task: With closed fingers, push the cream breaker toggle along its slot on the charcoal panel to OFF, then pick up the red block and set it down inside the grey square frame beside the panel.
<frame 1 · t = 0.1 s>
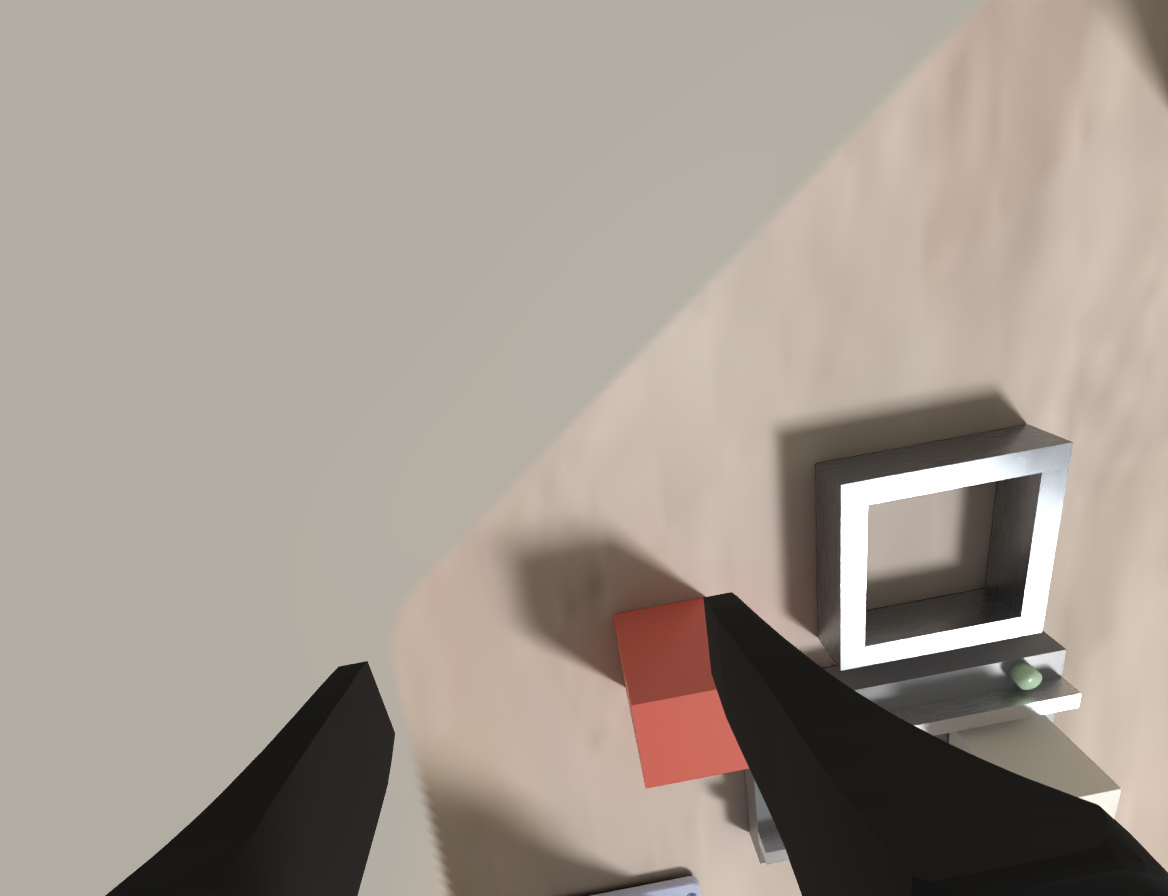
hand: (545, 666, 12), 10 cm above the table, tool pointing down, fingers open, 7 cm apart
red block: (664, 642, 25), on the table
breaker toggle: (1023, 788, 25), point 4 cm above the table, slide at 0.0 cm
breaker panel: (885, 736, 28), on the table
grey square frame: (916, 537, 24), on the table
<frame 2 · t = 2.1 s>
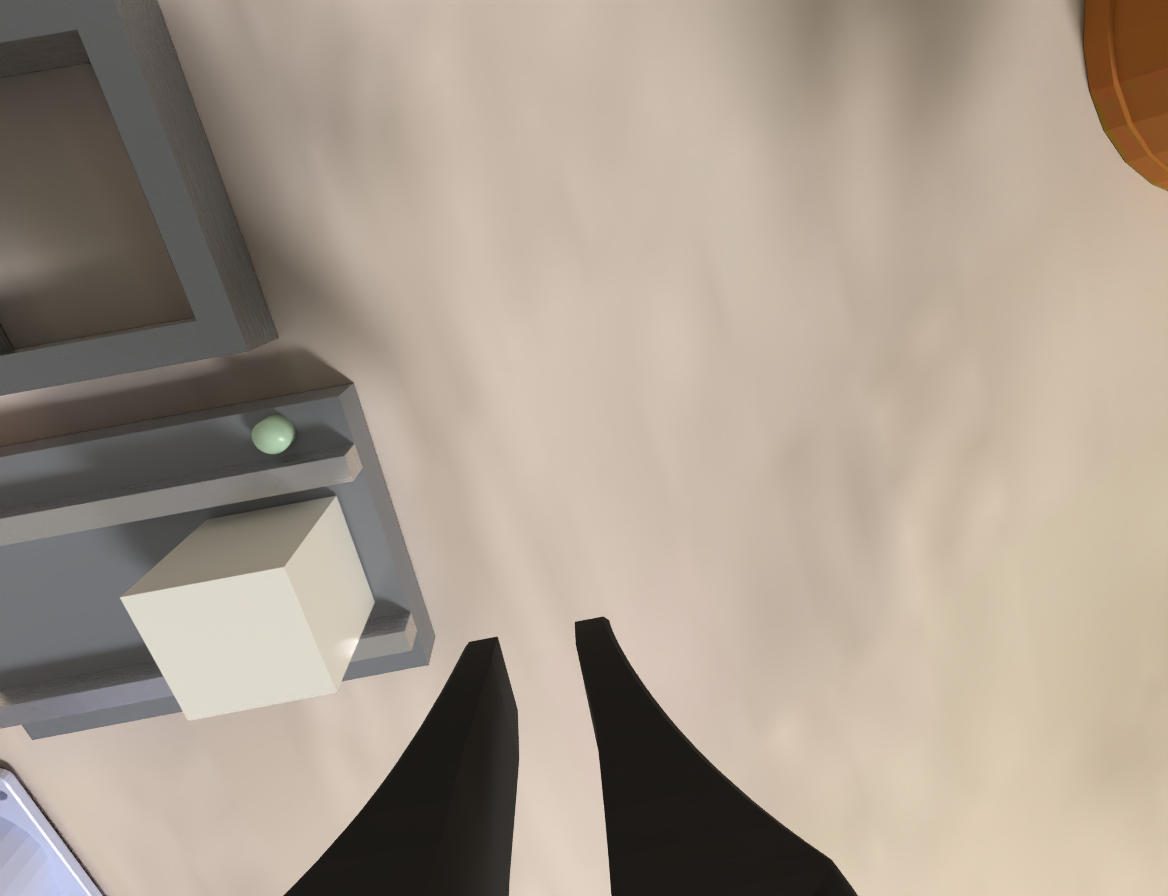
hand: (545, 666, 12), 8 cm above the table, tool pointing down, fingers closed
breaker toggle: (267, 600, 17), point 4 cm above the table, slide at 0.0 cm
breaker panel: (196, 558, 20), on the table
grey square frame: (69, 212, 16), on the table
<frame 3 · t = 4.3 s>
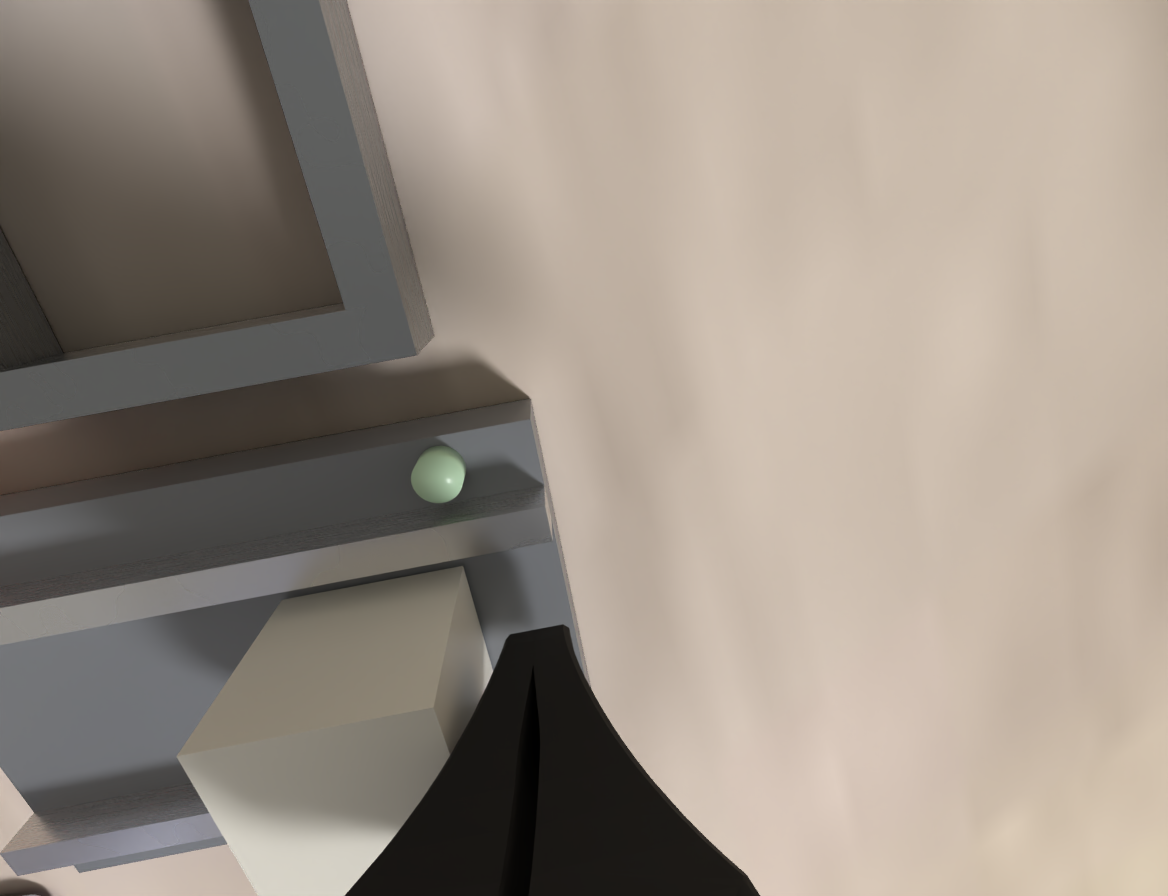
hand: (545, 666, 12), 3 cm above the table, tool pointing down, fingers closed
breaker toggle: (376, 723, 11), point 4 cm above the table, slide at 1.1 cm, touching gripper
breaker panel: (300, 632, 15), on the table
grey square frame: (151, 152, 11), on the table
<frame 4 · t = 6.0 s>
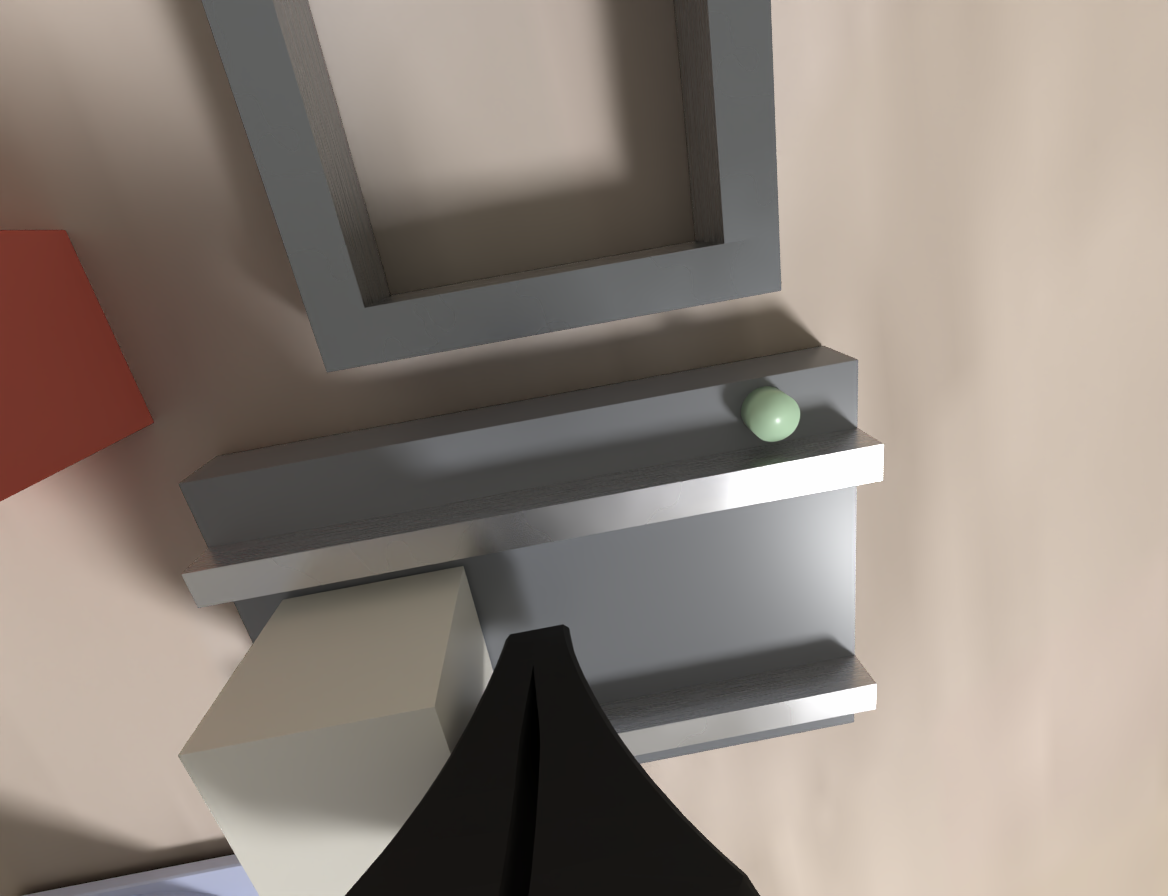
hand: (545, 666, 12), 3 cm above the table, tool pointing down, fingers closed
red block: (16, 348, 12), on the table
breaker toggle: (377, 723, 12), point 4 cm above the table, slide at 7.9 cm, touching gripper
breaker panel: (561, 583, 15), on the table
grey square frame: (511, 91, 11), on the table
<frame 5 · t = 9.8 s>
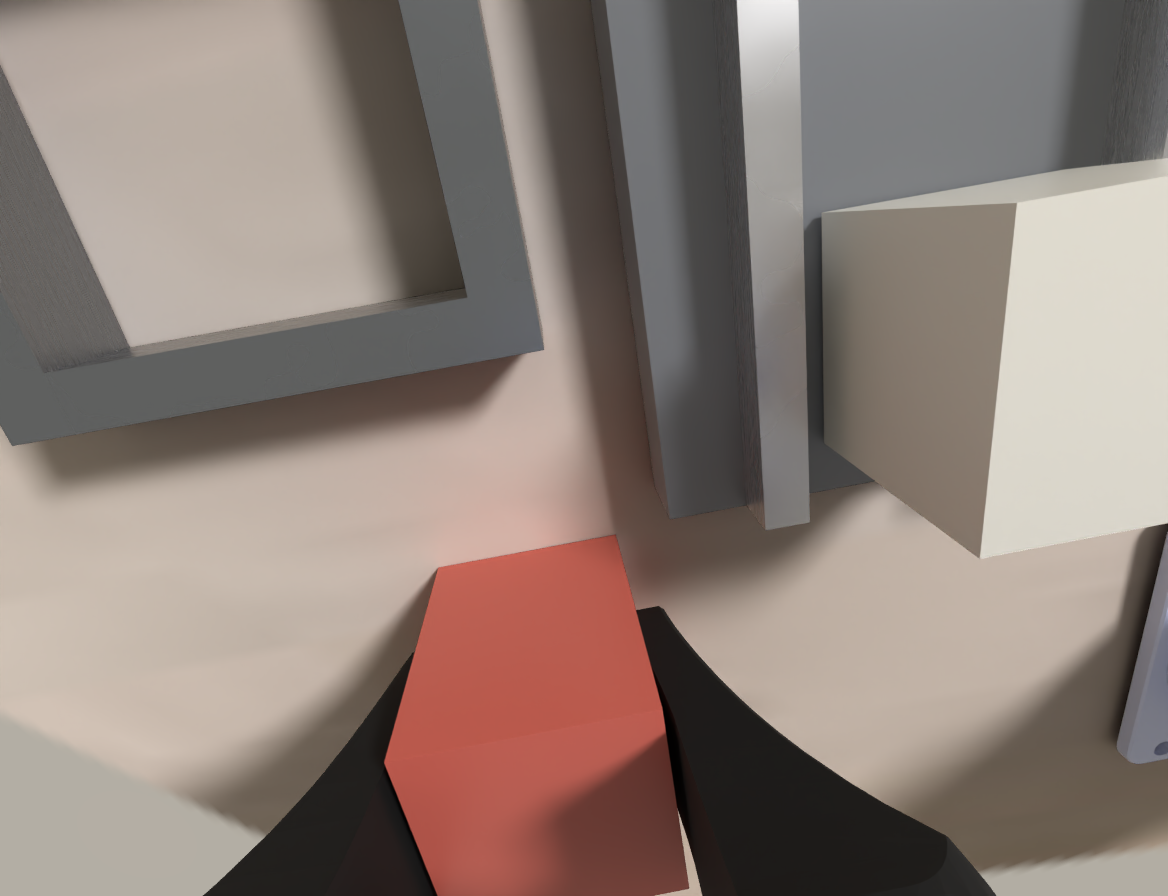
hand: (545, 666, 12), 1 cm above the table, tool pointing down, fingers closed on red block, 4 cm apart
red block: (544, 623, 14), on the table, touching gripper
breaker toggle: (1028, 336, 8), point 4 cm above the table, slide at 8.0 cm
breaker panel: (889, 74, 10), on the table
grey square frame: (238, 118, 9), on the table
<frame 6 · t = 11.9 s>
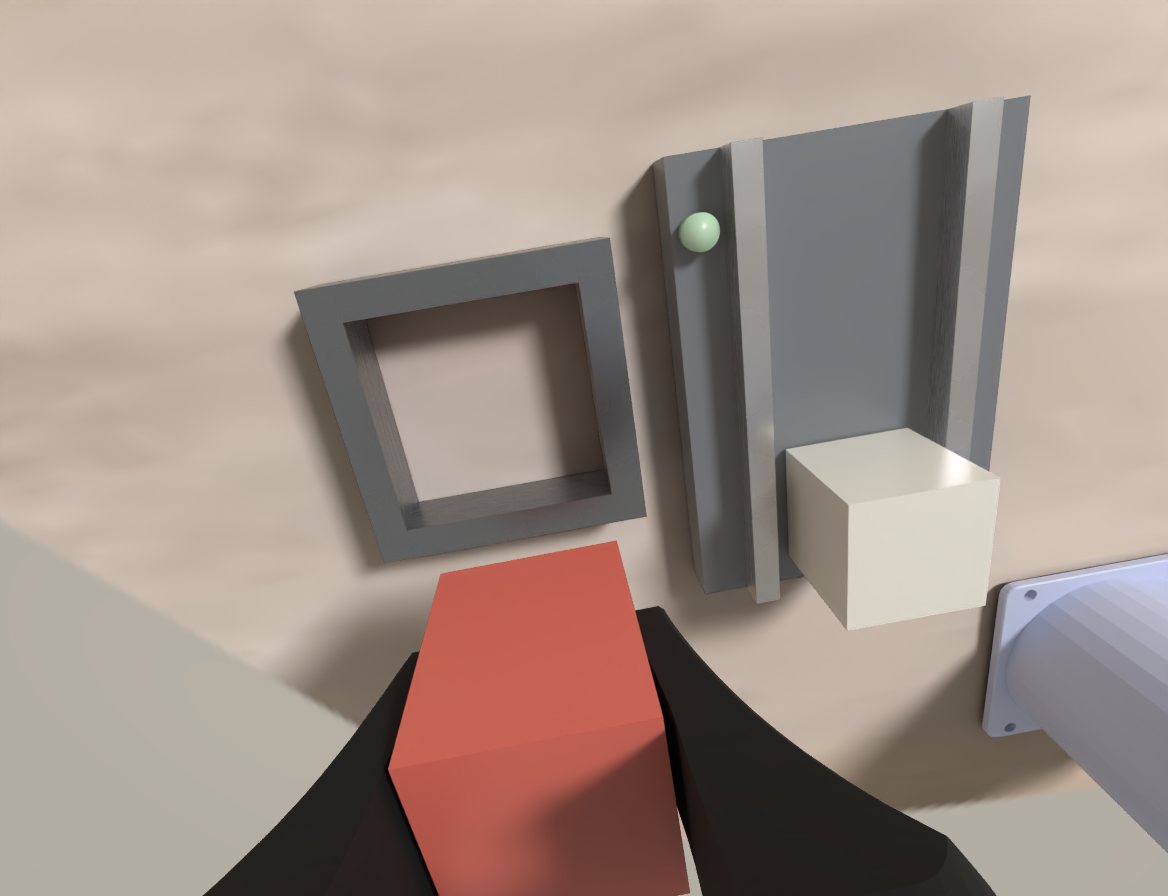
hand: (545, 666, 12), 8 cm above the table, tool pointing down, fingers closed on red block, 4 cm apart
red block: (545, 628, 14), point 7 cm above the table, touching gripper
breaker toggle: (879, 522, 17), point 4 cm above the table, slide at 8.0 cm
breaker panel: (823, 368, 19), on the table
grey square frame: (491, 396, 19), on the table
when the fingers open (3 cm above the table, at t = 14.0 s): red block drops 2 cm, resting in grey square frame.
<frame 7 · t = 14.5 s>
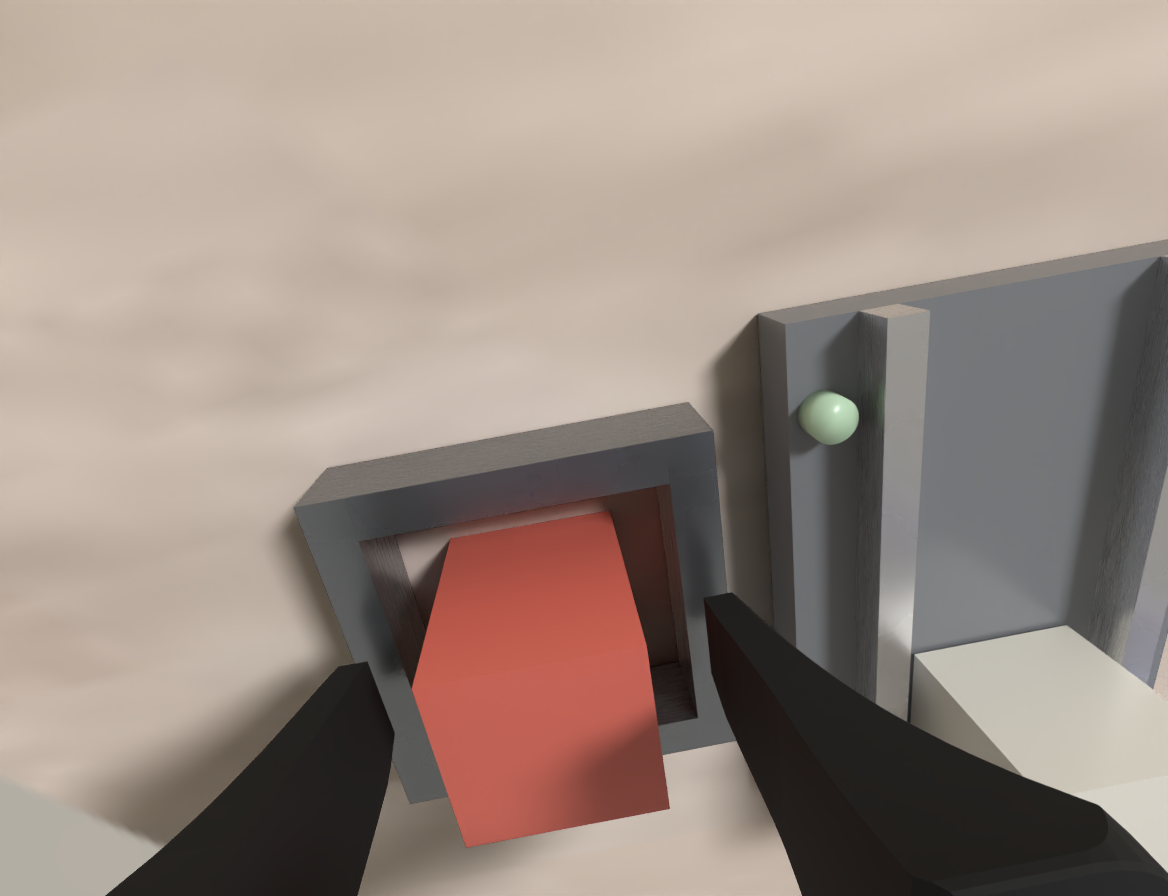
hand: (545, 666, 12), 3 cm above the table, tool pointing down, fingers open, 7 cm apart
red block: (544, 590, 15), resting in grey square frame
breaker toggle: (1045, 763, 14), point 4 cm above the table, slide at 8.0 cm
breaker panel: (953, 542, 15), on the table
grey square frame: (543, 586, 15), on the table
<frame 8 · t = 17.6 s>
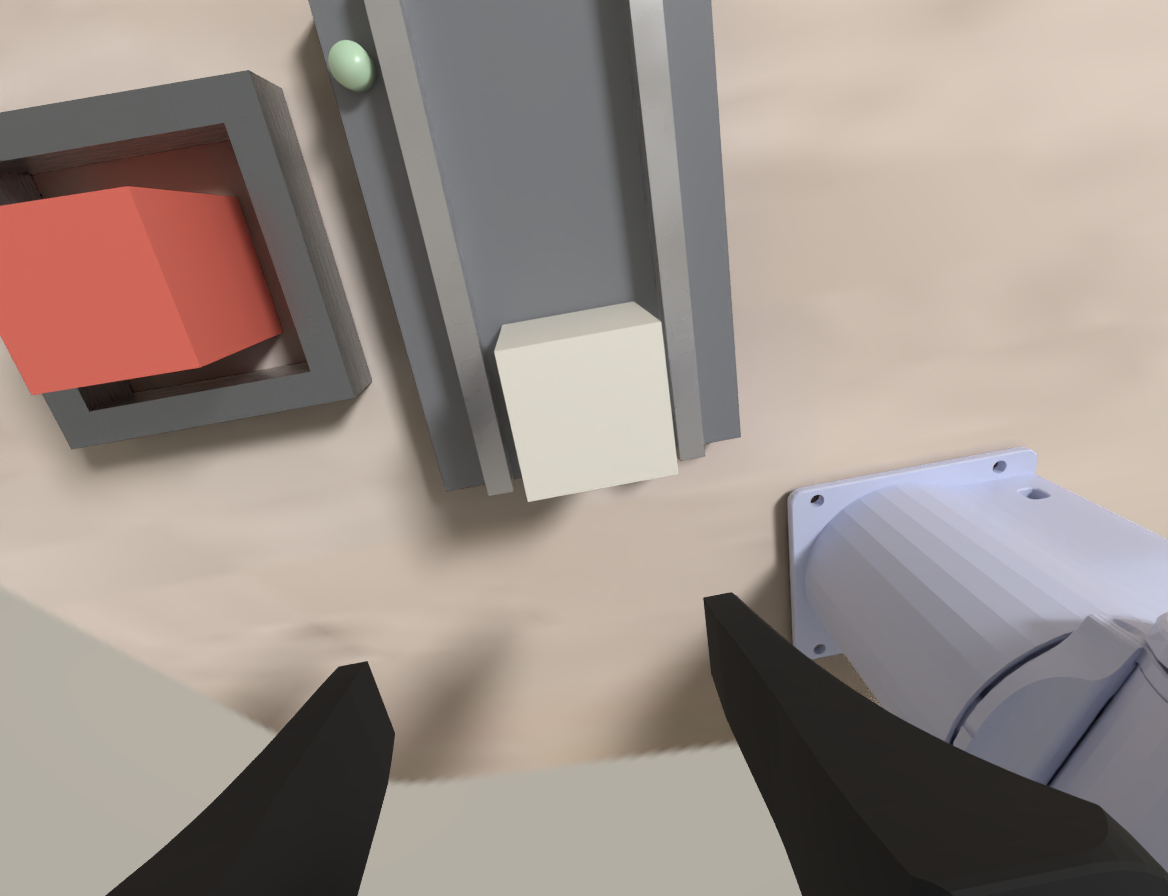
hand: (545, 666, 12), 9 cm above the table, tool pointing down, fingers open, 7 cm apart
red block: (196, 277, 18), resting in grey square frame
breaker toggle: (584, 394, 16), point 4 cm above the table, slide at 8.0 cm
breaker panel: (554, 243, 18), on the table
grey square frame: (192, 272, 18), on the table
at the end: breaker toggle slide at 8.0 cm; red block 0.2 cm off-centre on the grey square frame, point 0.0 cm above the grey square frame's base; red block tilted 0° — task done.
